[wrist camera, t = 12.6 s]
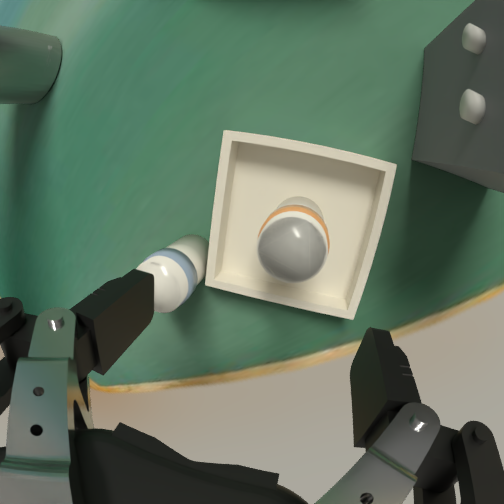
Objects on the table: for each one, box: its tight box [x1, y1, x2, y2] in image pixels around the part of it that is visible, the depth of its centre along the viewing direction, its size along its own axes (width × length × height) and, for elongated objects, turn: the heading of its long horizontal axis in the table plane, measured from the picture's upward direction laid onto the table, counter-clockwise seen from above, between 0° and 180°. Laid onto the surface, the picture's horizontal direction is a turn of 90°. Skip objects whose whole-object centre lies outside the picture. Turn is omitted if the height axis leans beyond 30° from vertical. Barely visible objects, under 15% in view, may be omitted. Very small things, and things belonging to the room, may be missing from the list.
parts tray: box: [205, 130, 397, 320], centre depth 22 cm, size 12×12×2 cm
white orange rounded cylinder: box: [257, 196, 330, 283], centre depth 20 cm, size 4×4×7 cm
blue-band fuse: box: [137, 234, 209, 313], centre depth 23 cm, size 4×4×7 cm
